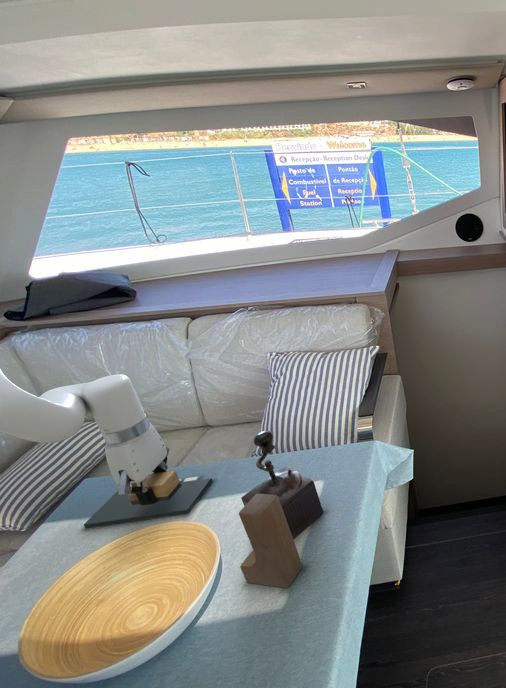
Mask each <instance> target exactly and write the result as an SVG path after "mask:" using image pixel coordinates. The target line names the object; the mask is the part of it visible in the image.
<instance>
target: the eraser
mask: <svg viewBox="0 0 506 688" xmlns="http://www.w3.org/2000/svg"><path fill="white" fill-rule="evenodd" d="M153 473H154V472H153ZM146 479H147V484H148V488H151V489H152V490H153V493H154V495H155V497H156V499H157V502H159V501H167V500H170V499H171V498H172V497H173V495H174V494H175V493H176V492H177V491H178V490H179V488H180V487H181V486H182V485H181V483H180V480H179V479H180V477H179V475H178V474H177V472H176V470H170V471H167V472H162V473H154V474H152V473H150V474H149V475H148V476H147V477H146ZM137 486H139V487H141V485H140V483H137ZM127 495H128V497H129V499H130V501H131V503H132V505H137V504H140V502H139V500H138V498H137V496H136V494H131V493H129V494H127Z"/></svg>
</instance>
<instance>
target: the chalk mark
mask: <svg viewBox="0 0 506 688" xmlns="http://www.w3.org/2000/svg"><path fill="white" fill-rule="evenodd" d="M193 480H200V477H199V476H192V477H186V478H184V480H182V482H186V481H193Z"/></svg>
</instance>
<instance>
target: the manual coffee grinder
mask: <svg viewBox="0 0 506 688" xmlns="http://www.w3.org/2000/svg"><path fill="white" fill-rule="evenodd" d="M273 439H274V434H273V432H272V431H271V430H263V431H260V432H259V433H257V434H256V435H255V436H254V438H253V443H254V445H255V446H256V447H259V448H260V449H261V452H260V453H261V454H262V455H260V457H259V458H258V459H257V460H256V463H255V465H256V468H257V469H259V470H261V471H264V472H268V474H269V477H267V478H266V479H265V480H263V481H262V482H260V483H258V485H256V486H255V487H253V488H252V489H250V490H249V491H248V492H247V493H245V494H244V495H242V496H241V498H240V499H241V502H242V504H243V507H244V506H245V505H246V504H247V503H248V502H249V501H250V500H251V499H252V498H253V497H254V496H255V495H256V494H269V495H277V496H278V498H279V501H280V503H281V506H282V509H283V512H284V515H285V517H286V520H287V523H288V526H289V529H290V532H291V534H292V537H293V540H294V539H296V538H297V537H298V536H299V535H301V534H302V533H303V532H304V531H305V530H306V529H307V528H310V526H311V525H313V523H315V522H316V521H317V520H318V519H320V517H322V515H323V514H324V512H325V510H324V509H323V507H322V503H321V501H320V497H319V494H318V490H317V487H316V485H315V482H314V480H313V479H311V478H310V477H308V476H306V475H304V474H302V473H301V472H299V471H297V470H295V469H293V468H291V467H290V466H287V465H285V466H284V467H282V468H281V469H279V470H278V471H276V472H275V471H274V469H275V466H274V465H273V464H272V461H271V460H269V459H267V460H265V459H266V457H267V456H268V455H269V454H271V453H272V452H273V450H275V449H276V445H275V444H273ZM264 460H265V461H264ZM263 461H264V464H263Z"/></svg>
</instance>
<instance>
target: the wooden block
mask: <svg viewBox="0 0 506 688" xmlns="http://www.w3.org/2000/svg"><path fill="white" fill-rule="evenodd" d="M238 516H239V518H240V521H241V523H242V526H243V528H244V531H245V533H246V536H247V538H248V541H249V543H250V545H251V548H252V551H251V552H250V553H249V555H247V557H246V558H245V559H244V561H243V562H242V563H241V564H240V566H239V568H240V571H241V573H242V574H243V577H244V579H245V582H246V583H249V584H254V585H255V584H256V585H262V586H270V587H276V588H277V587H278V588H284V589H288V588H289V587H290V586H291V584H292V583H293V581H294V580H295V579H296V577H297V576H298V574H299V573H300V571H301V570H302V568H303V562H302V560H301V557H300V554H299V552H298V548H297V547H296V543H295V540H294V539H293V537H292V534H291V532H290V529H289V526H288V523H287V520H286V517H285V515H284V512H283V509H282V506H281V503H280V501H279V498H278V496H277V495H269V494H256V495H255V496H254V497H253V498H252V499H251V500H250V501H249V502H248V503H247V504H246V505H245V506H244V505H243V508H242V509H241V510H239V512H238Z"/></svg>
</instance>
